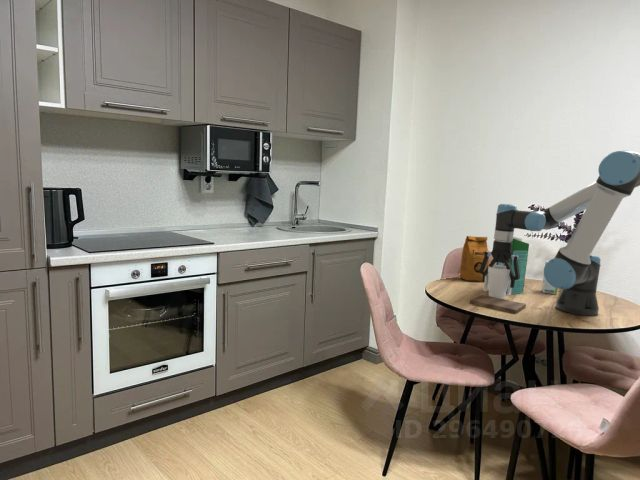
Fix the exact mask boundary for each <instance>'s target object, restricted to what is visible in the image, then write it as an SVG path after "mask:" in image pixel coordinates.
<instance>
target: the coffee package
mask: <svg viewBox="0 0 640 480" xmlns="http://www.w3.org/2000/svg"><path fill="white" fill-rule="evenodd" d="M487 241H488V236H471V235H470V236H469V235H467V236H466V238H465V241H464V243H463V248H462V254H461V260H460V270H459V278H460V279H463V280H465V281H469V282H470V281H471V282H482V279H483V274H481V273H479V270H480V267H481V265H482V262H483V259H484V253H485V252H486V251H489V249H488V242H487ZM489 264H490V258H489V259H488V261H487V264H486V266H485V269H484V271H485V270H486V268H487V267H488V266H489ZM487 275H488V274H487Z"/></svg>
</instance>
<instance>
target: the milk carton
mask: <svg viewBox="0 0 640 480" xmlns="http://www.w3.org/2000/svg"><path fill="white" fill-rule="evenodd" d="M511 242H512V251H511V253H512V255H515V256H519V259H518V265H519V272H520V279H518V280H515V285H514V288H512V289H511V295H515V294H517V295H519V294H524V288H525V280H526V272H527V265H528V257H529V249H530V243H528V242H525V241H523V239H522V238H520V237H516V236H513V241H511ZM509 262H510V265H511V268H512V270H513V273H514V275H515V271H514V264H513V260H512V258H510V259H509ZM495 265H498V266H505V264H504V263H501V262H496V263H495ZM505 267H506V266H505ZM510 279H511V278H510ZM510 279H509V280H510ZM507 292H508V287H507V290H506V294H505V295H507Z"/></svg>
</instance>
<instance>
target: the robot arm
mask: <svg viewBox="0 0 640 480" xmlns="http://www.w3.org/2000/svg"><path fill="white" fill-rule="evenodd" d="M597 171H598V175H599V176H598V177H597V179H596V181H594V182H593V183H591V184H589V185H587V186H585V187H584V188H582V189H581V190H578V191H577V192H574V193H573V194H571V195H569V196H567V197H566V198H564V199H562V200H559V201H558V202H557V203H554V204H553V205H551V206H549V207H547V208H545V209H544V210H542V211H536V210H535V211H532V210H531V211H530V210H529V211H528V210H527V211H526V210H519V209H518V208H517V205H516V204H511V203H510V204H509V203H508V204H507V203H500V204H499V205H497V211H496V216H495V227H494V228H495V229H494V233H493V234H494V235H493V239H494V240H493V243H492V250H491V251H489V250H488V251H486V252H485V253H484V259H483V262H482V265H481V267H480V270H479V273H481V274H483V279H482V281H481V282H482V283H483V284H484V285H483V290H482V291H488V289H489V284H488V275H487V274H488V267H487V268H486V270H485V271H484V269H485V266H486V264H487V261H488V259H489V260H490V257H492V260H491V261H490V262H489V266H490V267H493V265H496V263H497V262H501V263H504V264H505V266H506V268H507V269H509V270H510V275H509V276H510V278H511V279H510V280H509V283H508V292H507V294H506V296H509V297H510V296H511V295H512V294H511V289H512V288H514V285H515V280H518V279H520V272H519V265H518V259H519V256H515V255H512V253H511V251H512V242H511V241H513V237H514V232H515V229H519V230H526V231H529V232H541V231H543V230H546V231H547V230H551V229H552V230H553V229H555V228H556V227H557V226H558V224H560V223H561V222H563V221H565V220H568V219H569V218H572V217H573V216H575V215H578V214H580V213H581V212H583V211H584V212H583V215H582V216H581V217H580V221H579V222H578V223H577V225H576V227H575V229H574V230H573V233H572V235H571V237H569V239H568V242H567V243H566V246H563V247H560V248H559V249H558V251H557V252H556V254H555V256H554V258H551V259H549V260H547V261H548V262H547V263H546V265H545V264H544V268H543V277H544V276H545V278H546V280H547V282H548V283H549V284H550V285H551V286H553V287H555V288H557V290H561V292H560V294H559V296H558V298H557V299H556V301H555V302H556V303H555V307H556V309H558V310H560V311H563V312H567V313H569V314H573V315H574V314H575V315H579V316H580V315H582V316H597V315H598V314H599V309H600V307H599V302H598V299H597V289H598V288H597V287H598V280H599V276H600V275H599V274H600V268H601V258H600V256H598V255H593V254H592V252H593V250H594V249H595V248H596V246H597V244H598V242H599V240H600V239H601V237H602V235H603V233H604V232H605V230H606V229H607V227H608V225H609V223H610V221H611V219H612V218H613V217H614V214H615V213H616V211H617V209H618V208H619V206H620V204H621V202H622V201H623V199H624V198H627V197H629V196H631V195H632V193H633V192H634V190H635V188H637V187H639V186H640V152H635V151H632V150H631V151H630V150H627V149H626V150H615V151H613V152H611V153H608V154H607V155H605V156H604V157H603V158H602V160H601V161H600V162H599V165H598V170H597ZM510 258H512V260H513V264H514V271H515V275H514V273H513V270H512V268H511V265H510V262H509V259H510Z"/></svg>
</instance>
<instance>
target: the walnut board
mask: <svg viewBox="0 0 640 480" xmlns="http://www.w3.org/2000/svg"><path fill="white" fill-rule="evenodd" d="M470 304H471V305H474V306H479V307H483V308H489V309H492V310H497V311H502V312H505V313H511V314H515V315H516V314H518V313H519V312H521V311H522V310H524V309H526V306H527V304H526V303H524V302H519V301H512V300H509V299H505V298H504V299H500V298H495V297H490V296H489V295H484V294H480V295H478V296H476V297H474V298H473V297H472V298H471V299H469V305H470Z"/></svg>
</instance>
